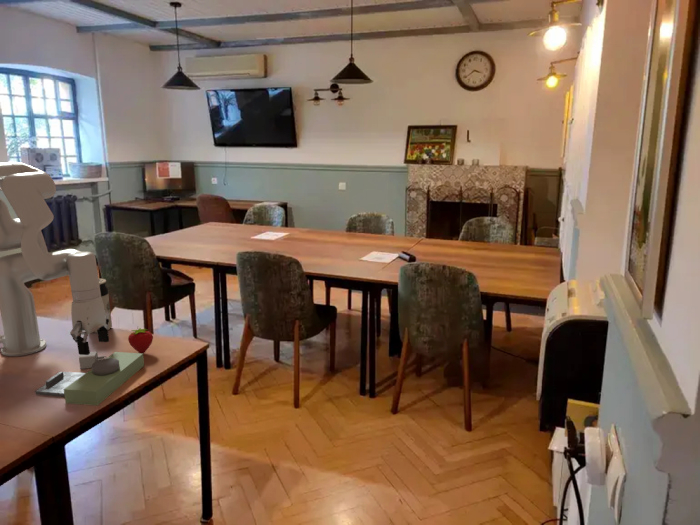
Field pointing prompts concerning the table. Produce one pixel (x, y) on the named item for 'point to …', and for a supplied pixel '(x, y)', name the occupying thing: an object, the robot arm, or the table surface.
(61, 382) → the grey plate with ledge
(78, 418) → the table surface
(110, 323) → the travel mug
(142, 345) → the strawberry
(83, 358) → the usb wall charger
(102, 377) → the green slab with knob
